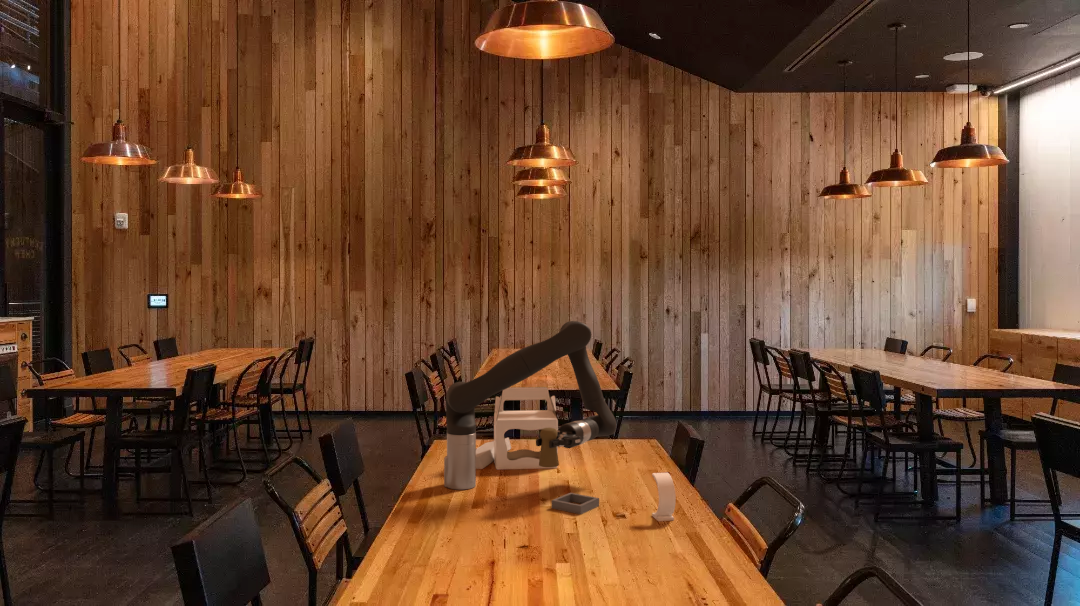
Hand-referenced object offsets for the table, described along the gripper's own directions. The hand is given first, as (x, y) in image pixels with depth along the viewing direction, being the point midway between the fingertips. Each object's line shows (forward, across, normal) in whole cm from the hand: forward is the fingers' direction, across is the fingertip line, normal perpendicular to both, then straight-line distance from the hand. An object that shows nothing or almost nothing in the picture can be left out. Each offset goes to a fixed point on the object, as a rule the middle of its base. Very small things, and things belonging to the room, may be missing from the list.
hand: (543, 443), depth 218 cm
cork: (-3, 0, +7) cm, 8 cm away
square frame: (-2, +10, +18) cm, 20 cm away
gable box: (-36, -33, +18) cm, 52 cm away
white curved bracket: (-7, +35, +18) cm, 40 cm away
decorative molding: (-36, -52, +19) cm, 66 cm away
